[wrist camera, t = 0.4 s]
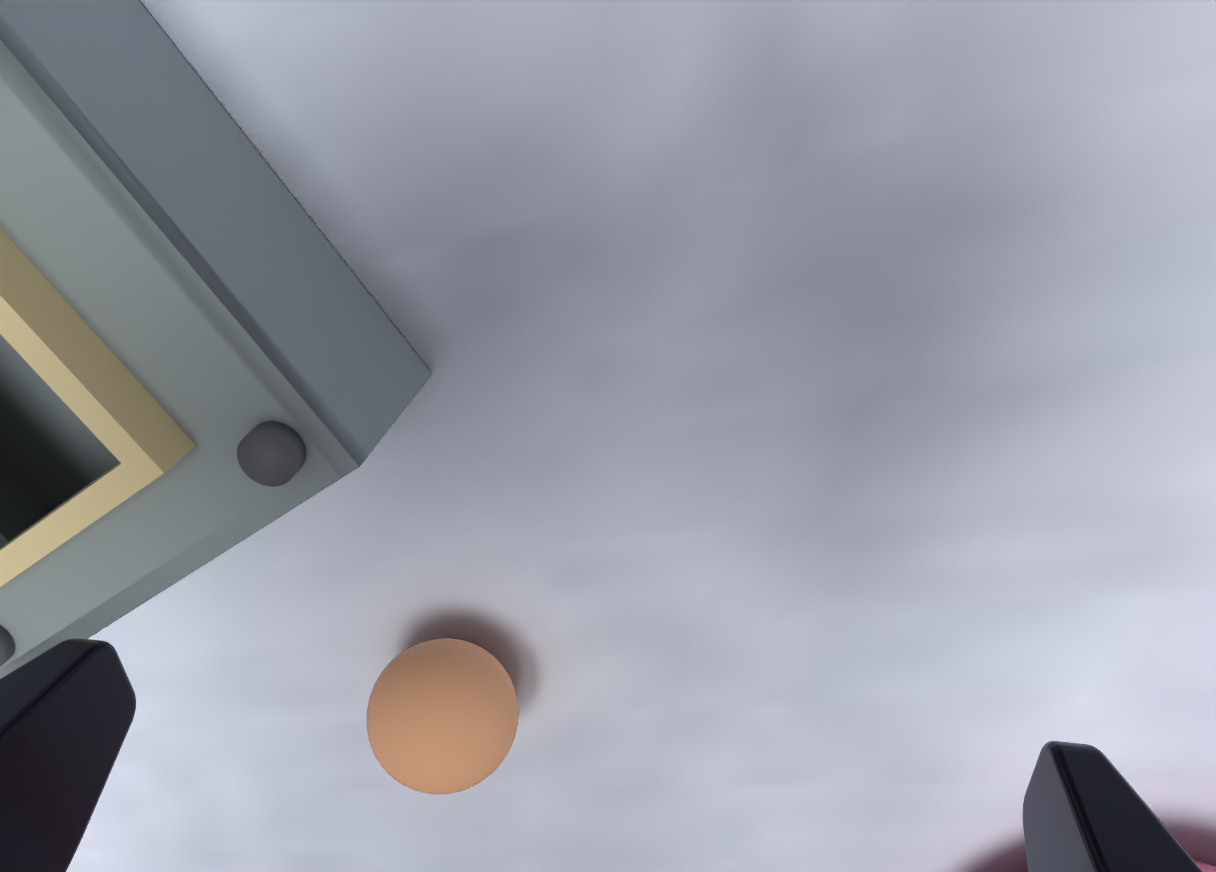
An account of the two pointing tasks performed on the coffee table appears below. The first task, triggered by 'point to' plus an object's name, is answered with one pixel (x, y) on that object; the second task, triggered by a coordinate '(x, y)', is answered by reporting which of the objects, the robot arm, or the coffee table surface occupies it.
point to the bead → (442, 716)
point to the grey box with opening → (156, 328)
